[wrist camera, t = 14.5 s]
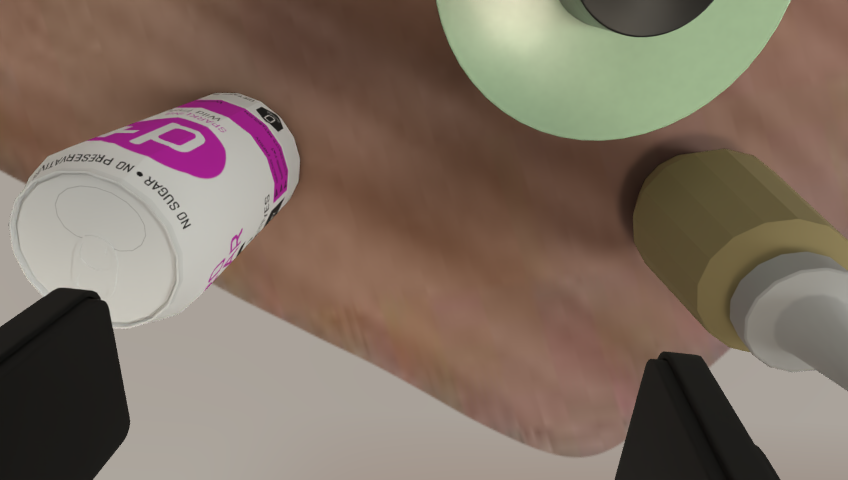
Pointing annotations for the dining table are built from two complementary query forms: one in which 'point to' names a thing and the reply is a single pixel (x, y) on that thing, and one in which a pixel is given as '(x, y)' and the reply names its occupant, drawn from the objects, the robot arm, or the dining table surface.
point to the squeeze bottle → (748, 259)
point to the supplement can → (155, 205)
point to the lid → (605, 58)
